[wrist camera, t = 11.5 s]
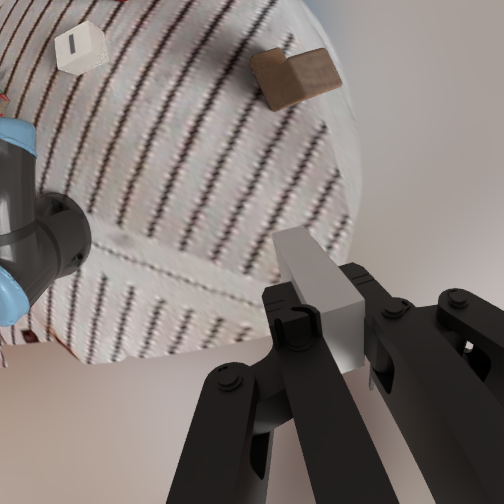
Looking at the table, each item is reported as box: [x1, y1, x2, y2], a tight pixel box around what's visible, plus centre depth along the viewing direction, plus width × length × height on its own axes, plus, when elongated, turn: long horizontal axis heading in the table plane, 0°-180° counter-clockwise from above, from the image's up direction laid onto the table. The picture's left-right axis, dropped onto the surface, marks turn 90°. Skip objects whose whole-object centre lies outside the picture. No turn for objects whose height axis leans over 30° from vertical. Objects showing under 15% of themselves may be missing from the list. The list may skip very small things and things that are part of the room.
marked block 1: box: [55, 20, 109, 76], centre depth 29 cm, size 6×6×7 cm
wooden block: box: [249, 48, 342, 112], centre depth 30 cm, size 9×4×18 cm, turn 25°
